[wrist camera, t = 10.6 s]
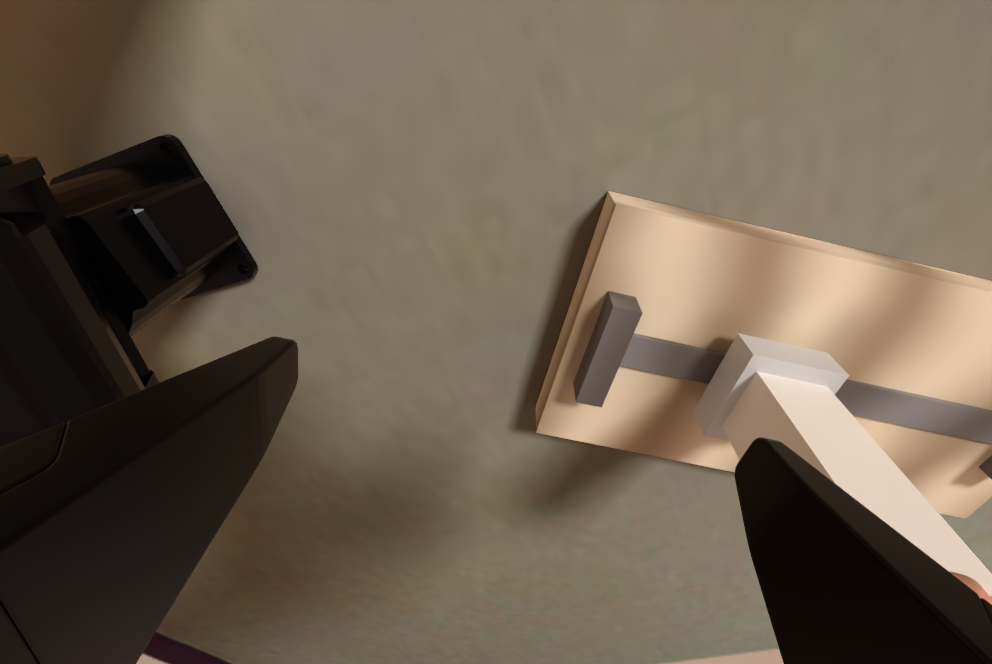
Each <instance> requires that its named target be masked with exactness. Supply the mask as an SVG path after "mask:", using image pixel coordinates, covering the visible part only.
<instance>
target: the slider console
mask: <svg viewBox="0 0 992 664" xmlns="http://www.w3.org/2000/svg"><path fill="white" fill-rule="evenodd" d="M738 333H739V334H744V335H748V336H753V337H758V338H762V339H767V340H771V341H776V342H780V343H785V344H790V345H794V346H799V347H803V348H808V349H812V350H817V351H822V352H826V353H828V354H829V355H830V356H831V357H832V358H833V359H834V360H835V361H836V362H837V363H838V364H839V365H840V366H841V367H842V368H843V369H844V370H845V371H846V372H847V373H848V374H849V377H848V378H847V379H846V381H845V382H844V383H843V385H842V386H841V387H840V389H839V390H838V391H837V392H836V394H835V396H836V397H837V398H838V399H839V400H840V402H841V403H842V404H843V405H844V406H845V407H846V408H847V410H848V411H849V412H850V413H851V414H852V415H853V416H854V418H855V419H856V420H857V421H858V422H859V423H860V424H861V426H862V427H863V428H864V429H865V430H866V431H867V432H868V433H869V435H870V436H871V437H872V438H873V439H874V440H875V441H876V443H877V444H878V445H879V446H880V447H881V448H882V449H883V451H884V452H885V453H886V454H887V455H888V456H889V457H890V459H891V460H892V461H893V462H894V463H895V464H896V465H897V467H898V468H899V469H900V470H901V471H902V472H903V473H904V475H905V476H906V477H907V478H908V479H909V480H910V481H911V483H912V484H913V485H914V486H915V487H916V488H917V489H918V491H919V492H920V493H921V494H922V495H923V496H924V497H925V499H926V500H927V501H928V502H929V503H930V504H931V505H932V507H933V508H934V509H935V510H936V511H937V512H938V513H941V514H946V515H951V516H956V517H961V518H967V517H968V516H970V515H971V514H972V513H973V512H974V511H975V510H977V509H978V508H979V507H980V506H981V505H982V504H984V503H985V502H986V501H987V500H988V499H989V498H990V497H992V281H990V280H986V279H982V278H977V277H973V276H969V275H964V274H960V273H956V272H952V271H947V270H943V269H939V268H935V267H930V266H926V265H922V264H918V263H913V262H909V261H905V260H900V259H896V258H892V257H888V256H883V255H879V254H875V253H871V252H866V251H862V250H858V249H853V248H849V247H845V246H841V245H836V244H832V243H828V242H824V241H819V240H815V239H811V238H807V237H802V236H798V235H794V234H789V233H785V232H781V231H777V230H772V229H768V228H764V227H760V226H755V225H751V224H747V223H742V222H738V221H734V220H730V219H725V218H721V217H717V216H713V215H708V214H704V213H700V212H696V211H691V210H687V209H683V208H678V207H674V206H670V205H666V204H661V203H657V202H653V201H649V200H644V199H640V198H636V197H632V196H627V195H623V194H619V193H614V192H610V191H608V193H607V196H606V199H605V202H604V205H603V208H602V211H601V214H600V217H599V220H598V223H597V226H596V229H595V232H594V235H593V238H592V241H591V244H590V247H589V250H588V253H587V256H586V258H585V261H584V264H583V267H582V270H581V273H580V276H579V279H578V282H577V285H576V288H575V291H574V294H573V297H572V300H571V303H570V306H569V309H568V312H567V315H566V318H565V321H564V324H563V327H562V330H561V333H560V336H559V339H558V342H557V345H556V348H555V350H554V353H553V356H552V359H551V362H550V365H549V368H548V371H547V374H546V377H545V380H544V383H543V386H542V389H541V392H540V395H539V398H538V401H537V404H536V407H535V409H536V433H540V434H545V435H550V436H555V437H560V438H565V439H570V440H575V441H580V442H585V443H590V444H595V445H600V446H605V447H610V448H615V449H620V450H625V451H630V452H635V453H640V454H645V455H650V456H656V457H661V458H666V459H671V460H676V461H681V462H686V463H691V464H696V465H701V466H706V467H711V468H716V469H721V470H726V471H731V472H735V468H736V465H737V463H738V462H739V458H738V456H737V455H736V453H735V451H734V449H733V447H732V445H731V443H730V441H727V440H722V439H717V438H712V437H707V436H704V435H703V433H702V430H701V428H700V426H699V424H698V421H697V419H696V417H695V415H694V413H693V411H694V409H695V407H696V406H697V404H698V402H699V400H700V399H701V397H702V395H703V393H704V392H705V390H706V388H707V386H708V385H709V383H710V381H711V379H712V378H713V376H714V374H715V372H716V371H717V369H718V367H719V365H720V364H721V362H722V360H723V358H724V357H725V355H726V353H727V351H728V350H729V348H730V346H731V344H732V343H733V341H734V339H735V337H736V336H737V334H738Z"/></svg>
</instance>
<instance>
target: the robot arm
mask: <svg viewBox="0 0 992 664" xmlns="http://www.w3.org/2000/svg"><path fill="white" fill-rule="evenodd" d="M166 143H167V144H169V145H170V146H171V148H172V150H173V151H172V153H171V152H169V151H168V149H167V147H166ZM44 175H46V173H45V171H44V170H43V168H42V166H41V164H40V162H39V160H38V159H37V157H36V156H35V157H19V158H10V157H9V155H8V154H0V664H136V663H137V661H138V659H139V658H140V656H141V655H142V653H143V651H144V650H145V648H146V647H147V645H148V643H149V642H150V640H151V638H152V637H153V635H154V634H155V632H156V630H157V629H158V627H159V625H160V624H161V622H162V621H163V619H164V617H165V616H166V614H167V612H168V611H169V609H170V608H171V606H172V604H173V603H174V601H175V599H176V598H177V596H178V595H179V593H180V591H181V590H182V588H183V587H184V585H185V583H186V582H187V580H188V578H189V577H190V575H191V574H192V572H193V570H194V569H195V567H196V565H197V564H198V562H199V561H200V559H201V557H202V556H203V554H204V552H205V551H206V549H207V548H208V546H209V544H210V543H211V541H212V539H213V538H214V536H215V535H216V533H217V531H218V530H219V528H220V527H221V525H222V523H223V522H224V520H225V518H226V517H227V515H228V514H229V512H230V510H231V509H232V507H233V505H234V504H235V502H236V501H237V499H238V497H239V496H240V494H241V492H242V491H243V489H244V488H245V486H246V484H247V483H248V481H249V479H250V478H251V476H252V475H253V473H254V471H255V470H256V468H257V466H258V465H259V463H260V461H261V459H262V458H263V456H264V454H265V452H266V450H267V448H268V446H269V444H270V442H271V439H272V437H273V435H274V433H275V431H276V429H277V426H278V424H279V422H280V420H281V418H282V416H283V413H284V411H285V409H286V407H287V405H288V403H289V400H290V398H291V396H292V394H293V392H294V390H295V387H296V384H297V380H298V346H297V343H296V342H295V341H294V340H290V339H286V338H281V337H270V338H268V339H265V340H263V341H260V342H258V343H256V344H253V345H251V346H248V347H246V348H243V349H241V350H238V351H236V352H234V353H231V354H229V355H226V356H224V357H221V358H219V359H217V360H214V361H212V362H209V363H207V364H204V365H202V366H199V367H197V368H195V369H192V370H190V371H187V372H185V373H182V374H180V375H178V376H175V377H173V378H170V379H168V380H165V381H163V382H160V383H159V381H158V379H157V377H156V376H155V374H154V372H153V371H151V370H149V369H148V367H147V366H146V364H145V362H144V360H143V358H142V356H141V355H140V353H139V351H138V349H137V347H136V346H135V344H134V342H133V340H132V338H131V336H132V335H133V334H135V333H136V332H137V331H139V330H140V329H141V328H143V327H144V326H145V325H147V324H148V323H149V322H151V321H152V320H154V319H155V318H156V317H158V316H159V315H160V314H162V313H163V312H164V311H166V310H167V309H168V308H170V307H171V306H172V305H174V304H175V303H177V302H178V301H179V300H181V299H184V298H188V297H191V296H194V295H197V294H201V293H204V292H207V291H210V290H214V289H217V288H220V287H223V286H227V285H230V284H233V283H236V282H240V281H243V280H246V279H249V278H251V277H252V276H253V275H255V274H256V272H257V271H258V266H257V264H256V262H255V260H254V259H253V257H252V256H251V254H250V252H249V251H248V249H247V247H246V246H245V244H244V243H243V241H242V239H241V238H240V236H239V234H238V231H237V230H236V228H235V227H234V225H233V223H232V222H231V220H230V219H229V217H228V215H227V214H226V212H225V210H224V209H223V207H222V206H221V204H220V202H219V201H218V199H217V197H216V196H215V194H214V193H213V191H212V189H211V188H210V186H209V184H208V183H207V182H206V181H205V179H204V178H203V176H202V175H201V173H200V171H199V170H198V168H197V167H196V165H195V163H194V162H193V160H192V158H191V157H190V155H189V154H188V152H187V150H186V149H185V147H184V145H183V144H182V143H181V141H180V140H179V139H178V138H176V137H175V136H173V135H170V134H167V135H162V136H158V137H155V138H153V139H150V140H148V141H145V142H143V143H140V144H138V145H135V146H133V147H130V148H128V149H125V150H123V151H120V152H118V153H115V154H113V155H110V156H108V157H105V158H103V159H100V160H98V161H95V162H93V163H90V164H88V165H85V166H83V167H80V168H78V169H75V170H73V171H70V172H68V173H65V174H63V175H60V176H58V177H55V178H53V179H52V180H51V182H50V186H48V185H47V183H46V181H45V180H44V178H43V176H44ZM241 264H243V265H245V266H246V267H247V268H248V271H247V270H245V269H244V268H243V267H242V265H241ZM735 481H736V486H737V491H738V496H739V501H740V506H741V511H742V516H743V521H744V526H745V531H746V537H747V541H748V545H749V550H750V553H751V557H752V561H753V564H754V567H755V571H756V574H757V577H758V581H759V584H760V587H761V590H762V594H763V597H764V600H765V603H766V607H767V610H768V613H769V617H770V620H771V623H772V626H773V630H774V633H775V636H776V640H777V643H778V646H779V649H780V652H781V656H782V659H783V662H784V664H992V604H990V603H989V602H988V601H986V600H985V599H983V598H980V597H979V595H978V594H977V593H976V592H975V591H973V590H972V589H971V588H970V587H968V586H967V585H966V584H964V583H963V582H962V581H960V580H959V579H958V578H957V577H955V576H954V575H953V574H951V573H950V572H949V571H948V570H946V569H945V568H944V567H942V566H941V565H940V564H939V563H937V562H936V561H935V560H933V559H932V558H931V557H929V556H928V555H927V554H926V553H924V552H923V551H922V550H920V549H919V548H918V547H917V546H915V545H914V544H913V543H911V542H910V541H909V540H908V539H906V538H905V537H904V536H902V535H901V534H900V533H898V532H897V531H896V530H895V529H893V528H892V527H891V526H889V525H888V524H887V523H886V522H884V521H883V520H882V519H880V518H879V517H878V516H876V515H875V514H874V513H873V512H871V511H870V510H869V509H867V508H866V507H865V506H864V505H862V504H861V503H860V502H858V501H857V500H856V499H855V498H853V497H852V496H851V495H849V494H848V493H847V492H845V491H844V490H843V489H842V488H840V487H839V486H838V485H836V484H835V483H834V482H833V481H831V480H830V479H829V478H827V477H826V476H825V475H824V474H822V473H821V472H820V471H818V470H817V469H816V468H814V467H813V466H812V465H811V464H809V463H808V462H807V461H805V460H804V459H803V458H802V457H800V456H799V455H798V454H796V453H795V452H794V451H792V450H791V449H790V448H789V447H787V446H786V445H785V444H783V443H782V442H780V441H778V440H773V439H768V438H763V437H759V438H756V439H755V440H754V441H753V442H752V443H751V445H750V446H749V447H748V449H747V450H746V452H745V453H744V455H743V456H742V458H741V459H740V460H739V462H738V463H737V465H736V468H735Z"/></svg>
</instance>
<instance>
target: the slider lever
mask: <svg viewBox="0 0 992 664" xmlns="http://www.w3.org/2000/svg"><path fill="white" fill-rule="evenodd" d="M848 377H849V374H848V373H847V372H846V371H845V370H844V369H843V368H842V367H841V366H840V365H839V364H838V363H837V362H836V361H835V360H834V359H833V358H832V357H831V356H830V355H829V354H828V353H826V352H822V351H817V350H812V349H808V348H803V347H799V346H794V345H790V344H785V343H780V342H776V341H771V340H767V339H762V338H758V337H753V336H748V335H744V334H739V333H738V334H737V336H736V337H735V339H734V341H733V343H732V344H731V346H730V348H729V350H728V351H727V353H726V355H725V357H724V358H723V360H722V362H721V364H720V365H719V367H718V369H717V371H716V372H715V374H714V376H713V378H712V379H711V381H710V383H709V385H708V386H707V388H706V390H705V392H704V393H703V395H702V397H701V399H700V400H699V402H698V404H697V406H696V407H695V409H694V411H693V413H694V415H695V417H696V419H697V421H698V424H699V426H700V428H701V430H702V433H703V435H704V436H707V437H712V438H717V439H722V440H727V441H730V443H731V445H732V447H733V449H734V451H735V453H736V455H737V456H738V458H739V460H740V459H741V458H742V456H743V455H744V453H745V452H746V450H747V449H748V447H749V446H750V445H751V443H752V442H753V441H754V440H755V439H756V438H759V437H763V438H768V439H773V440H778V441H780V442H782V443H783V444H785V445H786V446H787V447H789V448H790V449H791V450H792V451H794V452H795V453H796V454H798V455H799V456H800V457H802V458H803V459H804V460H805V461H807V462H808V463H809V464H811V465H812V466H813V467H814V468H816V469H817V470H818V471H820V472H821V473H822V474H824V475H825V476H826V477H827V478H829V479H830V480H831V481H833V482H834V483H835V484H836V485H838V486H839V487H840V488H842V489H843V490H844V491H845V492H847V493H848V494H849V495H851V496H852V497H853V498H855V499H856V500H857V501H858V502H860V503H861V504H862V505H864V506H865V507H866V508H867V509H869V510H870V511H871V512H873V513H874V514H875V515H876V516H878V517H879V518H880V519H882V520H883V521H884V522H886V523H887V524H888V525H889V526H891V527H892V528H893V529H895V530H896V531H897V532H898V533H900V534H901V535H902V536H904V537H905V538H906V539H908V540H909V541H910V542H911V543H913V544H914V545H915V546H917V547H918V548H919V549H920V550H922V551H923V552H924V553H926V554H927V555H928V556H929V557H931V558H932V559H933V560H935V561H936V562H937V563H939V564H940V565H941V566H942V567H944V568H945V569H946V570H948V571H949V572H950V573H951V574H953V575H954V576H955V577H957V578H958V579H959V580H960V581H962V582H963V583H964V584H966V585H967V586H968V587H970V588H971V589H972V590H973V591H975V592H976V593H977V594H978V595H979V597H980V598H983V599H985V600H986V601H988V602H989V603H990V604H992V598H991V597H990V596H992V574H991V573H990V572H989V570H988V569H987V568H986V567H985V566H984V565H983V564H982V562H981V561H980V560H979V559H978V558H977V557H976V556H975V554H974V553H973V552H972V551H971V550H970V549H969V548H968V546H967V545H966V544H965V543H964V542H963V541H962V540H961V538H960V537H959V536H958V535H957V534H956V533H955V532H954V530H953V529H952V528H951V527H950V526H949V525H948V524H947V523H946V521H945V520H944V519H943V518H942V517H941V516H940V515H939V513H938V512H937V511H936V510H935V509H934V508H933V507H932V505H931V504H930V503H929V502H928V501H927V500H926V499H925V497H924V496H923V495H922V494H921V493H920V492H919V491H918V489H917V488H916V487H915V486H914V485H913V484H912V483H911V481H910V480H909V479H908V478H907V477H906V476H905V475H904V473H903V472H902V471H901V470H900V469H899V468H898V467H897V465H896V464H895V463H894V462H893V461H892V460H891V459H890V457H889V456H888V455H887V454H886V453H885V452H884V451H883V449H882V448H881V447H880V446H879V445H878V444H877V443H876V441H875V440H874V439H873V438H872V437H871V436H870V435H869V433H868V432H867V431H866V430H865V429H864V428H863V427H862V426H861V424H860V423H859V422H858V421H857V420H856V419H855V418H854V416H853V415H852V414H851V413H850V412H849V411H848V410H847V408H846V407H845V406H844V405H843V404H842V403H841V402H840V400H839V399H838V398H837V397H836V396H835V394H836V392H837V391H838V390H839V389H840V387H841V386H842V385H843V383H844V382H845V381H846V379H847V378H848Z"/></svg>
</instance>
